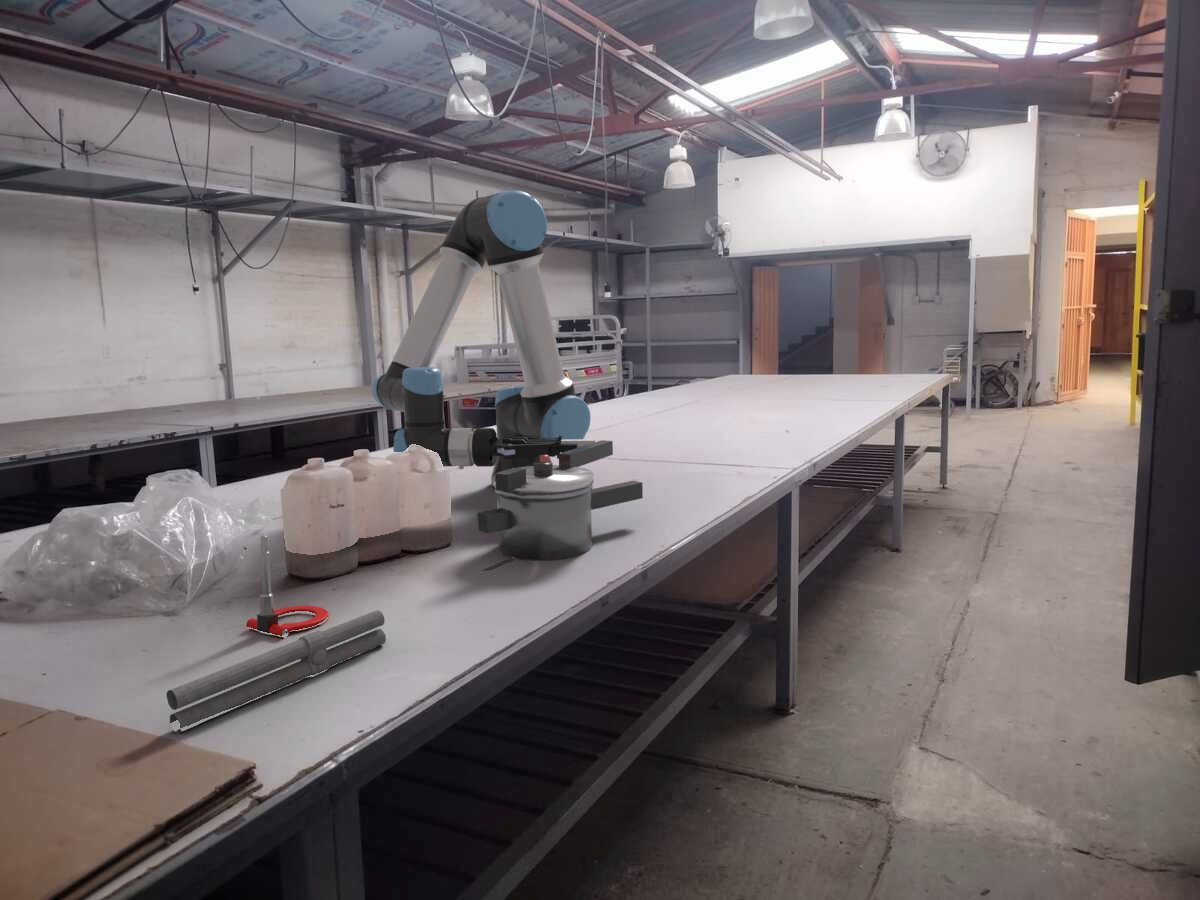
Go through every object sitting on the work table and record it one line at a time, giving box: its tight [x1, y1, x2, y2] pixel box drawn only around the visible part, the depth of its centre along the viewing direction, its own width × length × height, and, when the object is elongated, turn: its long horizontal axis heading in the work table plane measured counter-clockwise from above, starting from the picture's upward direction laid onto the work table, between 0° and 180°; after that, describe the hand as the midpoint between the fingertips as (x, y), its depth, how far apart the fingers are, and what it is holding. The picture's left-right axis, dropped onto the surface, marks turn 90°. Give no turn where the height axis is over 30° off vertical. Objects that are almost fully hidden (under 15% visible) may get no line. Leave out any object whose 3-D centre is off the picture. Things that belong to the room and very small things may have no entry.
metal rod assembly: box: [166, 609, 387, 728], centre depth 89 cm, size 26×3×5 cm, turn 145°
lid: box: [493, 439, 614, 494], centre depth 141 cm, size 35×17×4 cm, turn 151°
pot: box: [477, 480, 644, 562], centre depth 141 cm, size 26×26×11 cm
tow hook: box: [245, 534, 329, 636], centre depth 106 cm, size 8×13×9 cm
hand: (594, 446), depth 156 cm, fingers closed
